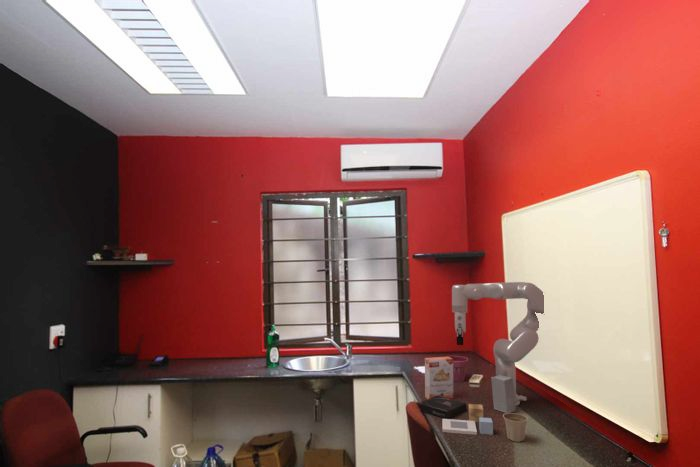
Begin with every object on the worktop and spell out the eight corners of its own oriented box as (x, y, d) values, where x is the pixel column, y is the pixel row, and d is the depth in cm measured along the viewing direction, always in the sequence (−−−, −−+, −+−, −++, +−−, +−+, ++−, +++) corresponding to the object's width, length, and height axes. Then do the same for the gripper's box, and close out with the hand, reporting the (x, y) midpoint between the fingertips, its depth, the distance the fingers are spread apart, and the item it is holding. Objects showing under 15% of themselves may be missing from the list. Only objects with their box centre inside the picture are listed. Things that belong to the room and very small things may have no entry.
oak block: (482, 418, 191) (482, 404, 191) (483, 423, 185) (483, 409, 185) (468, 417, 192) (468, 403, 193) (469, 422, 186) (469, 408, 187)
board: (474, 423, 184) (474, 420, 184) (477, 434, 172) (477, 431, 172) (442, 421, 187) (442, 418, 187) (442, 432, 175) (442, 428, 175)
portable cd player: (466, 411, 201) (466, 402, 201) (447, 421, 189) (447, 411, 189) (437, 403, 212) (437, 395, 213) (417, 411, 200) (417, 403, 201)
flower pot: (522, 433, 173) (521, 412, 174) (532, 443, 164) (532, 421, 164) (499, 434, 173) (499, 412, 173) (509, 444, 163) (508, 421, 164)
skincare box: (516, 411, 198) (515, 377, 199) (505, 414, 195) (504, 380, 196) (501, 406, 206) (500, 373, 207) (491, 409, 202) (490, 375, 203)
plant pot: (469, 383, 245) (469, 361, 246) (445, 382, 248) (445, 360, 249) (468, 376, 259) (467, 356, 260) (444, 375, 262) (444, 355, 263)
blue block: (491, 430, 177) (491, 418, 178) (493, 434, 172) (492, 422, 173) (479, 429, 178) (479, 417, 179) (480, 433, 173) (480, 421, 174)
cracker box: (429, 401, 214) (429, 360, 215) (424, 397, 219) (424, 357, 221) (454, 399, 217) (453, 358, 219) (448, 395, 223) (447, 355, 225)
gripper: (467, 311, 203) (467, 347, 201) (467, 307, 219) (467, 340, 218) (451, 310, 205) (452, 346, 203) (452, 307, 221) (452, 339, 220)
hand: (460, 343), depth 211 cm, fingers open, 9 cm apart
